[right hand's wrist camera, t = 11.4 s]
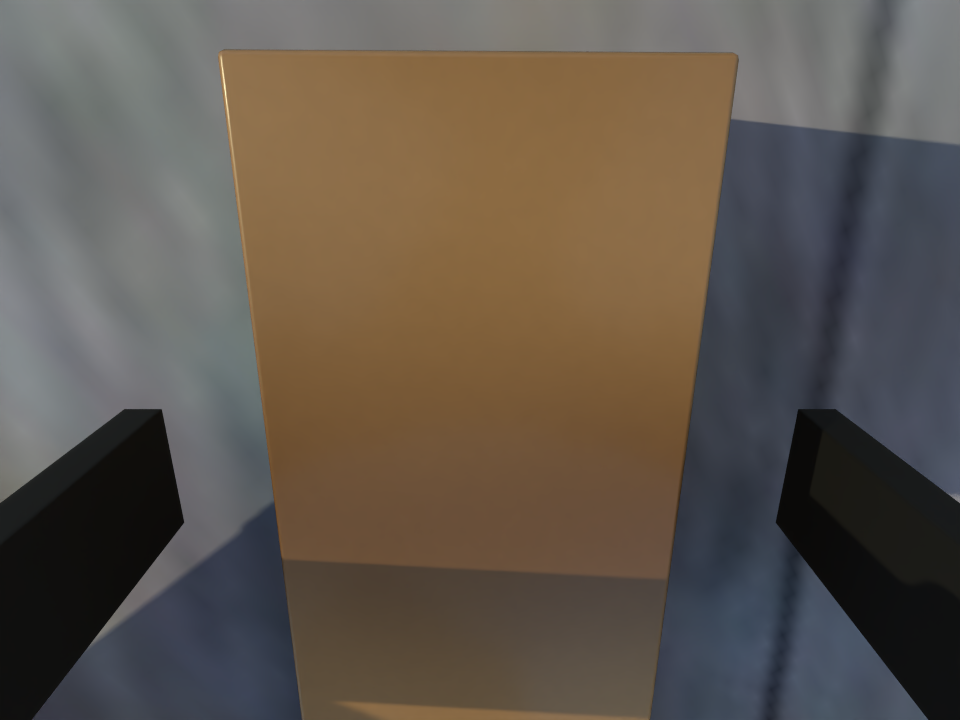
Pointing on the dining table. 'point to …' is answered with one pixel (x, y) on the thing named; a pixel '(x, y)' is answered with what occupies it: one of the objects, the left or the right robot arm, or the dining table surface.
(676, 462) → the post
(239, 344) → the dining table surface
